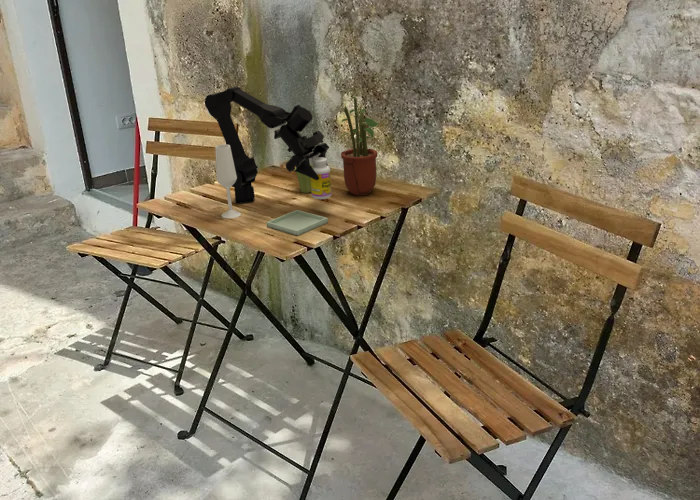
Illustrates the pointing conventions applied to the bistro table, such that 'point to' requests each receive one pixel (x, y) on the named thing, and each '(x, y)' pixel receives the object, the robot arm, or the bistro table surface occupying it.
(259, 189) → the bistro table surface
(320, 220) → the tray
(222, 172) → the champagne flute
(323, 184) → the supplement bottle
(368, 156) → the potted plant
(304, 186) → the plant pot
